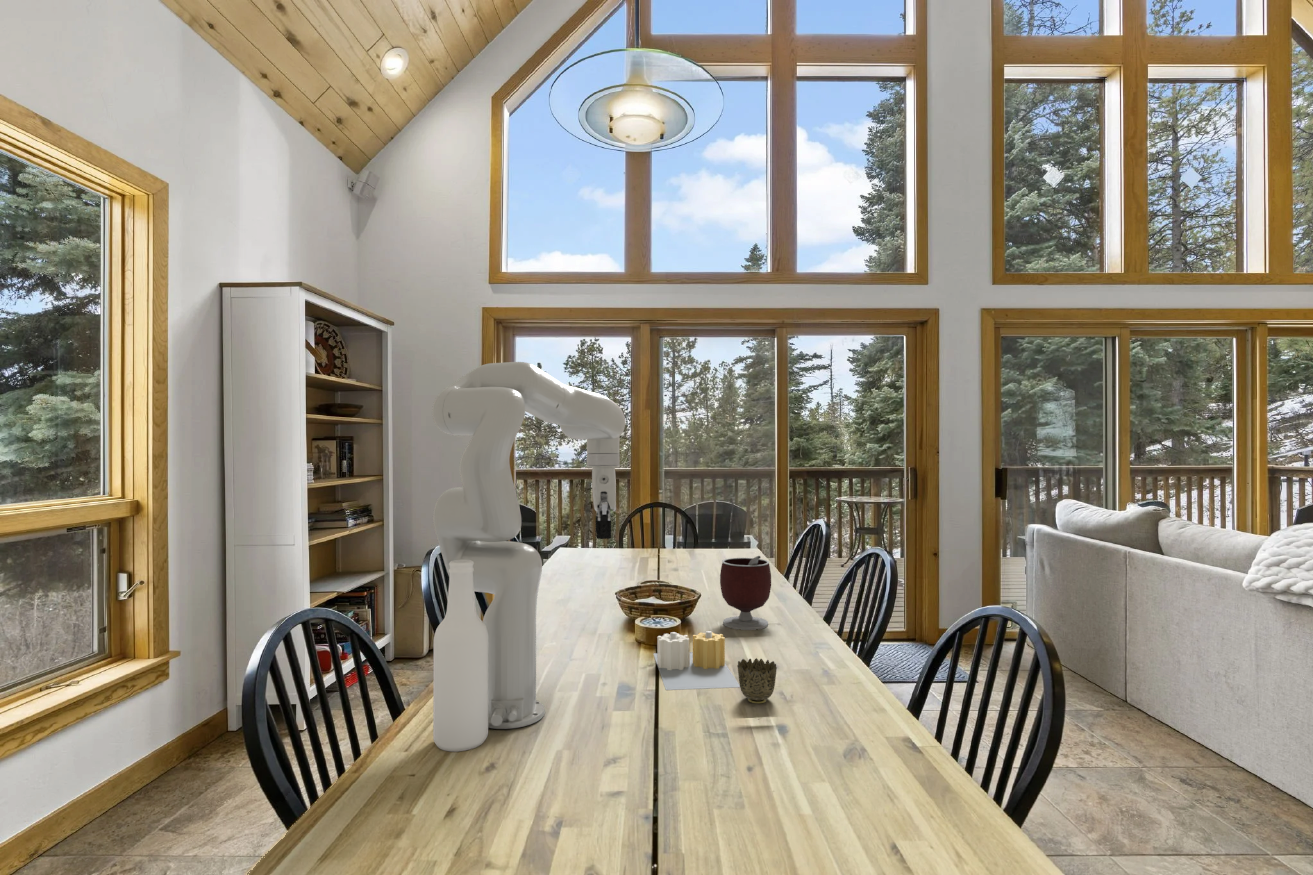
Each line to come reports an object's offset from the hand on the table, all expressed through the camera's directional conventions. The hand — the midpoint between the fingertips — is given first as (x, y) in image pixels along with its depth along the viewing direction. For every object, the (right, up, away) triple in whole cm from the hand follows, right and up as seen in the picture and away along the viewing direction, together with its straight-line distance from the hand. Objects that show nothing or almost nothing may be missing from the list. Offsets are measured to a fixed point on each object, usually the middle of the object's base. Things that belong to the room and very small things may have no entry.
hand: (603, 535), depth 162 cm
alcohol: (-20, -28, -45) cm, 57 cm away
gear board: (+20, -28, -11) cm, 36 cm away
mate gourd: (+37, -29, +30) cm, 56 cm away
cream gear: (+16, -27, -8) cm, 33 cm away
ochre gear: (+24, -27, -8) cm, 37 cm away
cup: (+31, -28, -29) cm, 51 cm away
